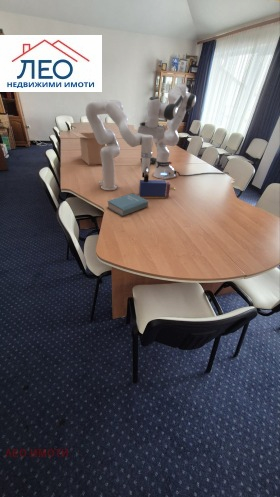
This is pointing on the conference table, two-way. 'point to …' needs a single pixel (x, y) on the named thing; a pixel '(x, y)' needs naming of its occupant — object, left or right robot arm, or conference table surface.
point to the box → (89, 147)
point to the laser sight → (151, 160)
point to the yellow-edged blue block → (152, 189)
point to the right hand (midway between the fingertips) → (150, 144)
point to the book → (127, 204)
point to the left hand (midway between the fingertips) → (145, 179)
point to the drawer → (169, 189)
